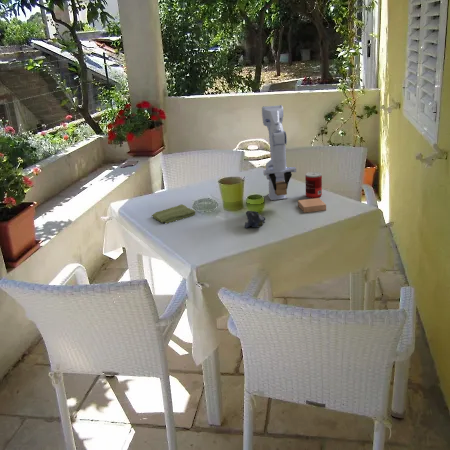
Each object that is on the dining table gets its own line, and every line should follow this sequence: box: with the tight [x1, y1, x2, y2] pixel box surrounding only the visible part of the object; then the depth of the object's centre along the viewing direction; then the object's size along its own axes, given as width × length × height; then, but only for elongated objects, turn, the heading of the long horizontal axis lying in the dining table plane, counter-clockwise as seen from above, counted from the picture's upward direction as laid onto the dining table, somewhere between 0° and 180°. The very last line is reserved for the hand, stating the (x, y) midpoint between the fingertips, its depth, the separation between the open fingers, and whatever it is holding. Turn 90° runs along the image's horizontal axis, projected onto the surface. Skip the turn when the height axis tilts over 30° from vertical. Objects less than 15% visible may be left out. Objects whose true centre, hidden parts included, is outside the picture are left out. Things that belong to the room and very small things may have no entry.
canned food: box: [304, 171, 323, 199], centre depth 233 cm, size 8×8×11 cm
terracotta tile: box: [297, 197, 327, 214], centre depth 219 cm, size 10×10×2 cm
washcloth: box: [151, 204, 196, 224], centre depth 222 cm, size 13×18×3 cm
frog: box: [244, 210, 266, 229], centre depth 202 cm, size 9×11×7 cm
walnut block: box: [275, 180, 288, 196], centre depth 219 cm, size 4×4×5 cm
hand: (280, 189), depth 219 cm, fingers closed on walnut block, 4 cm apart
